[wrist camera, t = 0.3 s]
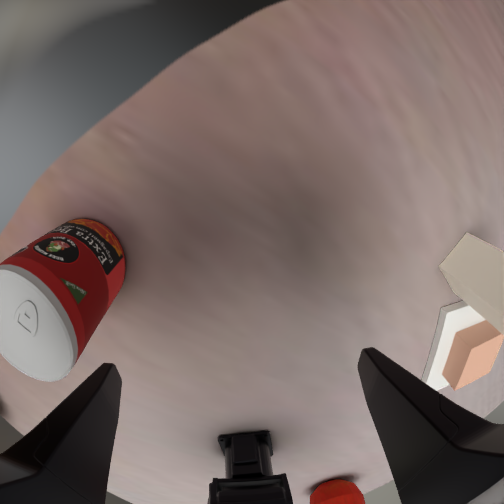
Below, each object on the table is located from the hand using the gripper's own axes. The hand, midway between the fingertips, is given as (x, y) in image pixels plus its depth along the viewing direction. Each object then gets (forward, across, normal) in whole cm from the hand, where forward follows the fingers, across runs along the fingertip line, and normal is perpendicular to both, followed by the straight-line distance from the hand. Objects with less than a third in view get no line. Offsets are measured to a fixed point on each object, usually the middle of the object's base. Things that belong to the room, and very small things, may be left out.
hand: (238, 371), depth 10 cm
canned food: (+14, +12, +2) cm, 19 cm away
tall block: (+14, -24, +5) cm, 28 cm away
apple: (+11, -15, +50) cm, 53 cm away
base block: (+12, -29, +16) cm, 35 cm away
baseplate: (+13, -28, +16) cm, 35 cm away
